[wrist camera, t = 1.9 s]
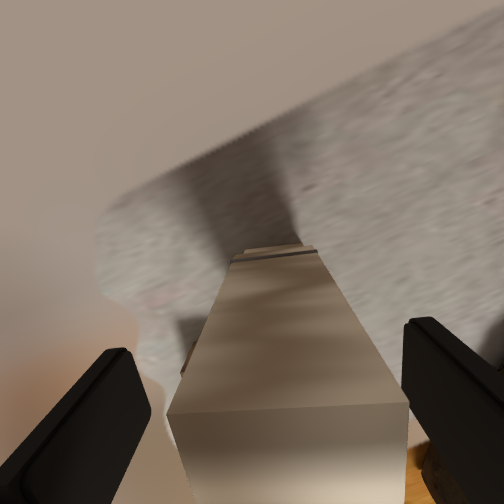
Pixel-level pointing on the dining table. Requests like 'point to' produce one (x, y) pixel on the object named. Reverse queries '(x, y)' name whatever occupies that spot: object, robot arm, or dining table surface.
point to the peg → (288, 393)
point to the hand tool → (442, 478)
